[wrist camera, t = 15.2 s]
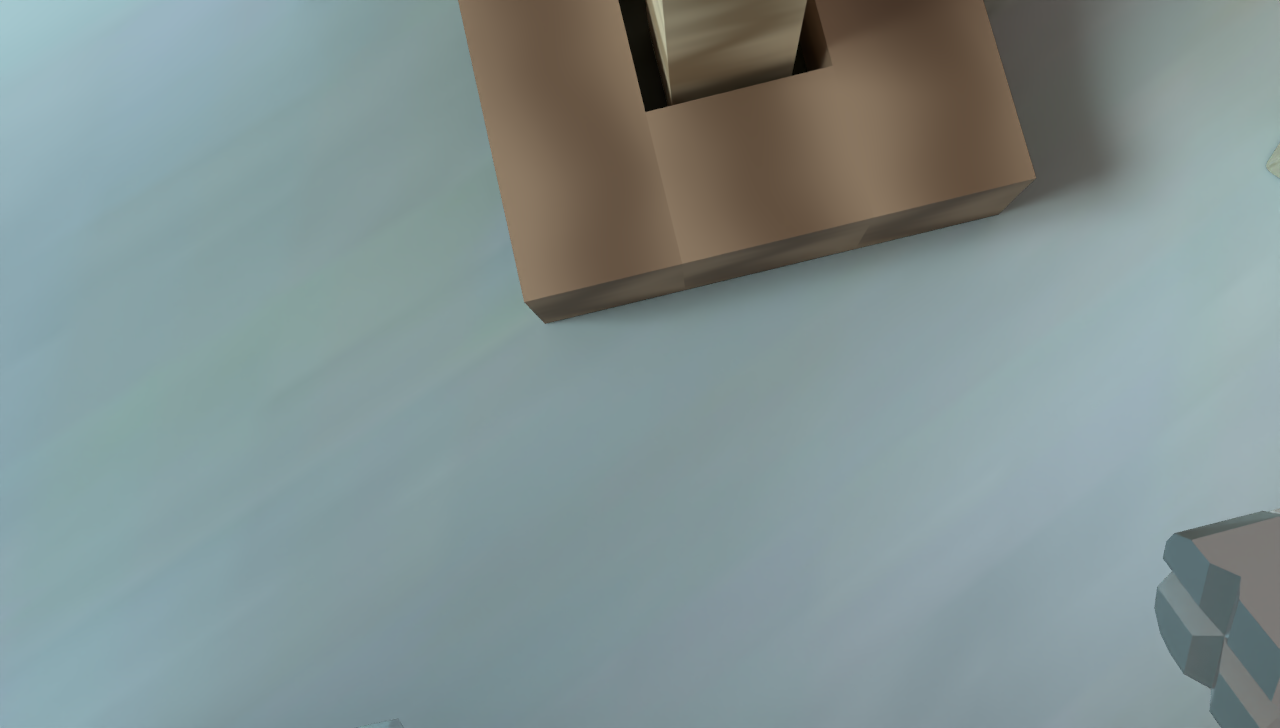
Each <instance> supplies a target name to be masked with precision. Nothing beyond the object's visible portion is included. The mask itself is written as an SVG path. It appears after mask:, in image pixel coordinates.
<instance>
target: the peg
mask: <svg viewBox="0 0 1280 728" xmlns="http://www.w3.org/2000/svg"><path fill="white" fill-rule="evenodd" d="M806 2H807V0H645V4H646V12H647V20H648V28H649V33H650V37H651V41H652V45H653V49H654V53H655V57H656V62H657V66H658V70H659V74H660V78H661V82H662V86H663V90H664V94H665V98H666V102H667V106H672V105H676V104H680V103H684V102H688V101H692V100H696V99H700V98H704V97H709V96H713V95H717V94H721V93H725V92H729V91H733V90H737V89H741V88H745V87H749V86H753V85H757V84H761V83H765V82H769V81H773V80H777V79H781V78H785V77H789V76H792V72H793V67H794V62H795V57H796V52H797V47H798V42H799V37H800V32H801V27H802V22H803V17H804V12H805V7H806Z"/></svg>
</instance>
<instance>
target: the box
mask: <svg viewBox="0 0 1280 728" xmlns="http://www.w3.org/2000/svg"><path fill="white" fill-rule="evenodd" d="M1266 167H1267V169H1268V170H1269V171H1270V172H1271V173H1272V174H1274V175H1275V176H1277V177H1279V178H1280V144H1279V145H1278V147H1277V148H1276V150H1275V151H1274V153H1273V154H1272V156H1271V157H1270V159H1269V160H1268V162H1267V165H1266Z"/></svg>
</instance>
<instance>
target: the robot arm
mask: <svg viewBox="0 0 1280 728" xmlns="http://www.w3.org/2000/svg"><path fill="white" fill-rule="evenodd" d="M1163 559H1164V561H1165V562H1166V563H1167V565H1168V566H1169V567H1170V569H1171V570H1172V572H1171V573H1170V574H1169V575H1168V576H1167V577H1166V578H1165V579H1164V580H1163V581H1162V582H1161V583H1160V585H1159V586H1158V587H1157V593H1156V601H1155V613H1156V617H1157V621H1158V626H1159V630H1160V634H1161V636H1162V638H1163V640H1164V642H1165V644H1166V646H1167V648H1168V650H1169V653H1170V654H1171V656H1172V657H1173V659H1174V660H1175V662H1176V663H1177V665H1178V666H1179V668H1180V669H1181V671H1182V672H1183V674H1185V675H1187V676H1189V677H1190V678H1192V679H1194V680H1196V681H1198V682H1200V683H1201V684H1203V685H1205V686H1207V687H1209V688H1211V698H1210V710H1209V711H1210V713H1211V714H1212V715H1213V717H1214V718H1215V720H1216V721H1217V723H1218V724H1219V725H1220V727H1221V728H1280V509H1276V510H1272V511H1268V512H1266V511H1261V512H1257V513H1253V514H1249V515H1245V516H1241V517H1237V518H1233V519H1229V520H1225V521H1221V522H1217V523H1213V524H1209V525H1205V526H1201V527H1198V528H1194V529H1190V530H1186V531H1182V532H1178V533H1174V534H1173V535H1172V536H1171V537H1170V538H1169V539H1168V540H1167V541H1166V545H1165V550H1164V555H1163ZM356 728H404V727H403V725H402V723H401V722H400V720H399V719H393V720H388V721H384V722H379V723H374V724H370V725H365V726H360V727H356Z"/></svg>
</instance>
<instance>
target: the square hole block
mask: <svg viewBox="0 0 1280 728" xmlns="http://www.w3.org/2000/svg"><path fill="white" fill-rule="evenodd" d="M458 2H459V6H460V11H461V15H462V20H463V24H464V29H465V34H466V38H467V43H468V47H469V52H470V56H471V61H472V66H473V70H474V75H475V79H476V84H477V88H478V93H479V97H480V102H481V107H482V111H483V116H484V120H485V125H486V129H487V134H488V139H489V143H490V148H491V152H492V157H493V161H494V166H495V171H496V175H497V180H498V184H499V189H500V193H501V198H502V202H503V207H504V212H505V216H506V221H507V225H508V230H509V234H510V239H511V244H512V248H513V253H514V257H515V262H516V266H517V271H518V276H519V280H520V285H521V289H522V294H523V298H524V302H525V303H526V304H527V305H528V306H529V308H530V309H531V310H532V311H533V312H534V313H535V314H536V315H537V316H538V317H539V318H540V319H541V320H542V321H543V322H544V323H545V324H546V323H550V322H554V321H558V320H562V319H566V318H571V317H575V316H579V315H583V314H587V313H591V312H596V311H600V310H604V309H608V308H612V307H616V306H620V305H625V304H629V303H633V302H637V301H641V300H645V299H649V298H654V297H658V296H662V295H666V294H670V293H674V292H679V291H683V290H687V289H691V288H695V287H699V286H703V285H708V284H712V283H716V282H720V281H724V280H728V279H732V278H737V277H741V276H745V275H749V274H753V273H757V272H762V271H766V270H770V269H774V268H778V267H782V266H786V265H791V264H795V263H799V262H803V261H807V260H811V259H815V258H820V257H824V256H828V255H832V254H836V253H840V252H844V251H849V250H853V249H857V248H861V247H865V246H869V245H874V244H878V243H882V242H886V241H890V240H894V239H898V238H903V237H907V236H911V235H915V234H919V233H923V232H927V231H932V230H936V229H940V228H944V227H948V226H952V225H957V224H961V223H965V222H969V221H973V220H977V219H981V218H986V217H990V216H994V215H998V214H999V213H1000V212H1001V211H1003V210H1004V209H1005V208H1006V207H1007V206H1008V205H1009V204H1010V203H1011V202H1012V201H1013V200H1014V199H1015V198H1016V197H1017V196H1018V195H1019V194H1020V193H1021V192H1022V191H1023V190H1024V189H1026V188H1027V187H1028V186H1029V185H1030V184H1031V183H1032V182H1033V181H1034V180H1035V179H1036V176H1035V172H1034V169H1033V166H1032V162H1031V159H1030V156H1029V152H1028V149H1027V146H1026V142H1025V139H1024V135H1023V132H1022V129H1021V125H1020V122H1019V119H1018V115H1017V112H1016V109H1015V105H1014V102H1013V99H1012V95H1011V92H1010V88H1009V85H1008V82H1007V78H1006V75H1005V72H1004V68H1003V65H1002V62H1001V58H1000V55H999V52H998V48H997V45H996V41H995V38H994V35H993V31H992V28H991V25H990V21H989V18H988V15H987V11H986V8H985V5H984V1H983V0H807V2H806V7H805V12H804V17H803V22H802V27H801V32H800V37H799V42H800V45H801V49H802V53H803V57H804V60H805V64H806V68H807V71H808V72H805V73H801V74H797V75H793V76H789V77H785V78H781V79H777V80H773V81H769V82H765V83H761V84H757V85H753V86H749V87H745V88H741V89H737V90H733V91H729V92H725V93H721V94H717V95H713V96H709V97H704V98H700V99H696V100H692V101H688V102H684V103H680V104H676V105H672V106H668V107H664V108H660V109H656V110H652V111H648V112H645V108H644V104H643V100H642V96H641V92H640V88H639V84H638V80H637V75H636V71H635V67H634V63H633V59H632V55H631V51H630V47H629V43H628V38H627V34H626V30H625V26H624V22H623V18H622V14H621V10H620V6H619V1H618V0H458Z"/></svg>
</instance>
